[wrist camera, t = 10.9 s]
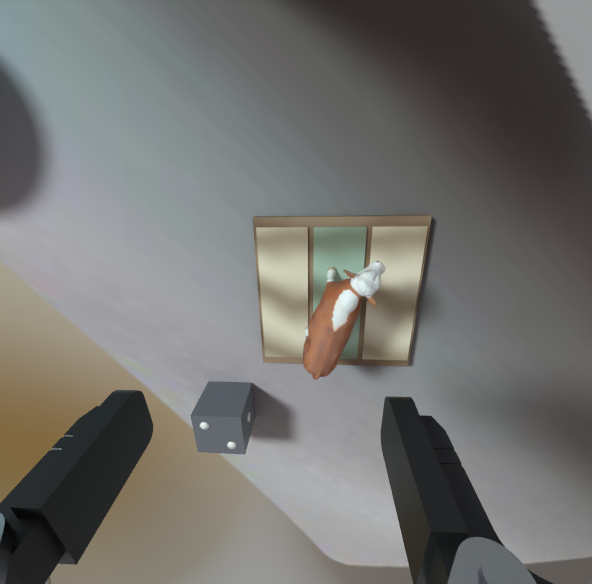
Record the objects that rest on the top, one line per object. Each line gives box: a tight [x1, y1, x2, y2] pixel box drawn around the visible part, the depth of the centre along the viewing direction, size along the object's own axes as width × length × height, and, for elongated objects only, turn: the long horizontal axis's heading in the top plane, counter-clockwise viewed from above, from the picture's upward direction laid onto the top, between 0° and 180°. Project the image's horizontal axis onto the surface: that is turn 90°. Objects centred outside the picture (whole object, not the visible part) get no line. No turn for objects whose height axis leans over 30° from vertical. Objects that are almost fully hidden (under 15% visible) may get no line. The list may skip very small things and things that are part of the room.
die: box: [191, 382, 255, 454], centre depth 37 cm, size 6×6×6 cm
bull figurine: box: [303, 261, 386, 379], centre depth 28 cm, size 4×13×8 cm, turn 158°
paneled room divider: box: [253, 215, 432, 366], centre depth 33 cm, size 18×18×1 cm
